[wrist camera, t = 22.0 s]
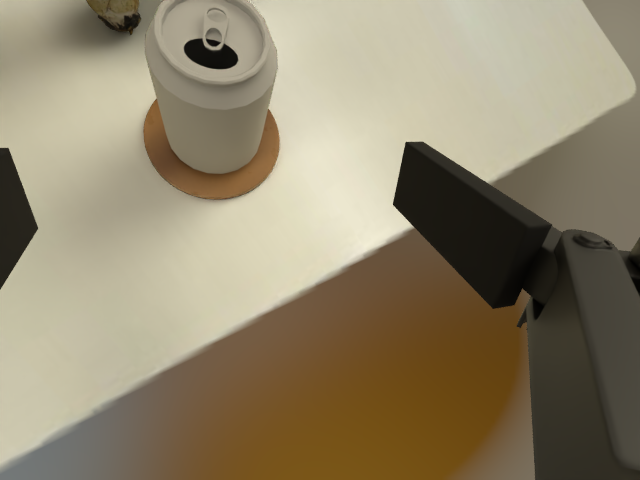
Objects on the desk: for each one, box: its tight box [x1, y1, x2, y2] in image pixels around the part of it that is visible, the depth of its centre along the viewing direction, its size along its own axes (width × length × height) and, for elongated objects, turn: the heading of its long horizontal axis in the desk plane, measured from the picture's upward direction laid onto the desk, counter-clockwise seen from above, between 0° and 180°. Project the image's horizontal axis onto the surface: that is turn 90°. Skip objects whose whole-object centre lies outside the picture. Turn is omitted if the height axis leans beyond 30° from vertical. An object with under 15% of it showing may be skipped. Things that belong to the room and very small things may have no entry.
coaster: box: [144, 99, 280, 199], centre depth 32 cm, size 11×11×1 cm
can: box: [145, 0, 278, 174], centre depth 26 cm, size 8×8×12 cm
